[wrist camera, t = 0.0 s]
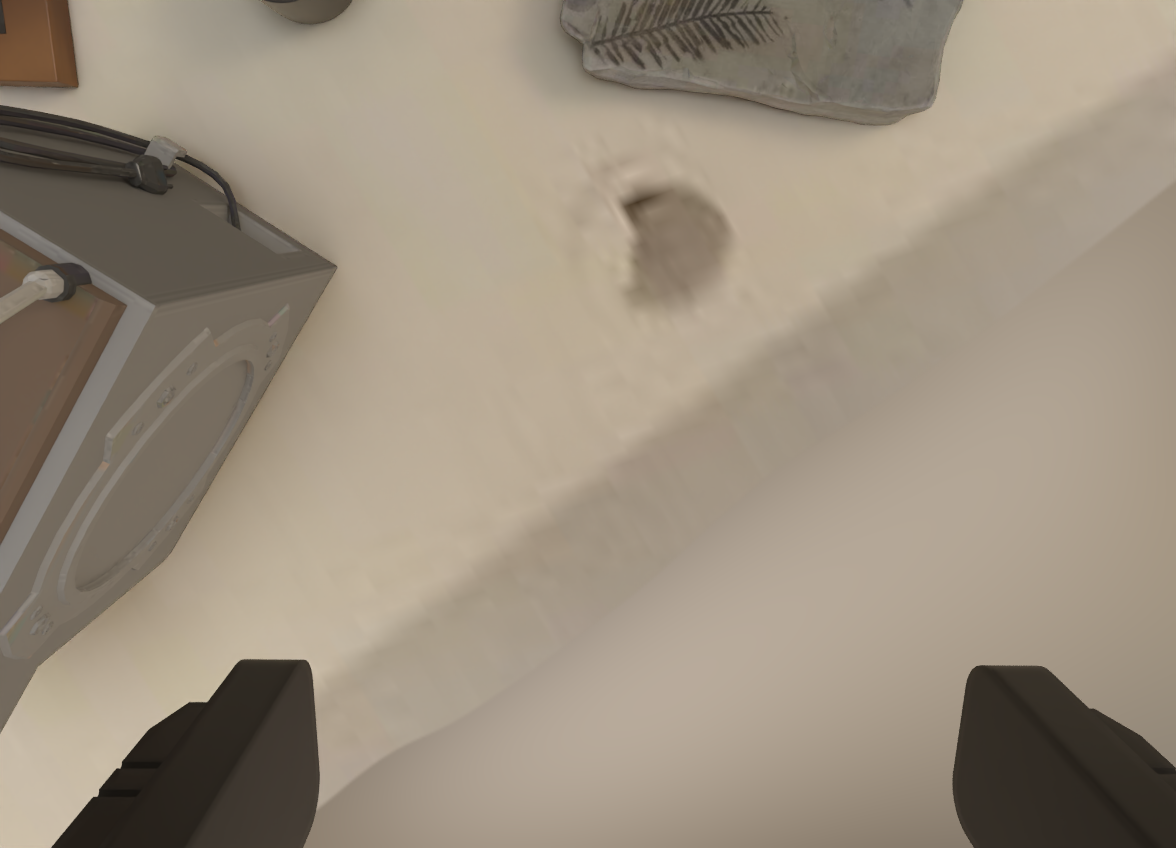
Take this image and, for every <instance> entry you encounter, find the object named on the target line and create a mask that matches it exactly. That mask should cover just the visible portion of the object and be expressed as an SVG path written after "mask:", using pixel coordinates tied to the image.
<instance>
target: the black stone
mask: <svg viewBox="0 0 1176 848" xmlns="http://www.w3.org/2000/svg"><path fill="white" fill-rule="evenodd" d="M259 1H261V2H262V3H264V4H265V5H266V6H268V7H269V8H271V9H272V10H274V11H275V12H277V13H278V14H280V15H281V16H283V17H285V18H287V19H289V20H291V21H294V22H298V23H303V24H317V23H323V22H326V21H329V20H331V19H333V18H335V17H336V16H338V15H339V14H340V13H342V12H343V11H344V10H345V9H346V8H347V7H348V5H349V4H350V3H351V1H352V0H259Z"/></svg>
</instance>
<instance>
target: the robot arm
mask: <svg viewBox="0 0 1176 848" xmlns="http://www.w3.org/2000/svg"><path fill="white" fill-rule="evenodd" d="M319 782H320V772H319V757H318V743H317V730H316V716H315V703H314V689H313V677H312V671H311V668H310V665H309V663H308V662H307V661H306V660H260V659H244V660H241V661H239V662H238V663H237V664H236V665H235V666H234V668H233V669H232V670H231V672H230V673H229V674H228V676H227V677H226V678H225V680H224V681H223V682H222V684H221V685H220V686H219V688H218V689H217V690H216V692H215V693H214V694H213V696H212V697H211V698H210V700H209V701H208V702H189V703H188V704H186V705H185V706H183V707H182V708H180V709H179V710H177V711H176V712H174V713H173V714H171V715H170V716H168V717H167V718H165V719H164V720H162V721H161V722H159V723H158V724H156V725H155V726H153V727H152V728H150V729H149V730H148V731H147V732H146V734H145V735H144V736H143V737H142V738H141V740H140V741H139V742H138V743H137V744H136V746H135V747H134V748H133V749H132V750H131V752H130V753H129V754H128V755H127V757H126V758H125V759H124V760H123V761H122V767H121V769H116V770H115V771H114V772H113V773H112V775H111V776H110V777H109V778H108V780H107V781H106V782H105V783H104V784H103V786H102V787H101V788H100V789H99V795H98V797H93V798H92V799H91V800H90V801H89V803H88V804H87V805H86V806H85V807H84V809H83V810H82V811H81V812H80V813H79V815H78V816H77V817H76V818H75V819H74V821H73V822H72V823H71V824H70V826H69V827H68V828H67V829H66V830H65V832H64V833H63V834H62V835H61V836H60V838H59V839H58V840H57V841H56V842H55V844H54V845H53V846H52V847H51V848H303V846H304V844H305V842H306V839H307V837H308V835H309V832H310V830H311V827H312V824H313V821H314V816H315V813H316V808H317V802H318V794H319ZM953 795H954V803H955V807H956V811H957V815H958V818H959V821H960V824H961V826H962V828H963V830H964V832H965V834H966V836H967V837H968V839H969V840H970V842H971V843H972V845H973V847H974V848H1176V768H1175V767H1174V766H1173V765H1172V764H1171V763H1170V762H1169V761H1168V760H1167V759H1166V758H1164V757H1163V756H1162V755H1161V754H1160V753H1159V752H1158V751H1157V750H1156V749H1155V748H1154V747H1152V746H1151V745H1150V744H1149V743H1148V742H1147V741H1146V740H1145V739H1144V738H1143V737H1142V736H1140V735H1138V734H1137V733H1135V732H1133V731H1132V730H1130V729H1128V728H1127V727H1125V726H1123V725H1121V724H1120V723H1118V722H1116V721H1114V720H1113V719H1111V718H1109V717H1107V716H1106V715H1104V714H1102V713H1101V712H1099V711H1097V710H1095V709H1089V708H1088V707H1087V706H1086V705H1085V704H1084V703H1082V701H1081V700H1080V699H1079V698H1077V697H1076V696H1075V695H1074V694H1073V693H1072V692H1071V691H1070V690H1069V689H1068V688H1067V687H1066V686H1065V685H1064V684H1063V683H1062V682H1061V681H1060V680H1059V679H1058V678H1056V676H1054V675H1053V674H1052V673H1051V672H1050V671H1049V670H1048V669H1046V668H1044V667H1042V666H988V665H987V666H985V665H981V666H976V667H975V668H974V669H972V671H971V672H970V674H969V676H968V679H967V683H966V689H965V695H964V702H963V709H962V716H961V723H960V729H959V737H958V743H957V750H956V757H955V764H954V771H953Z"/></svg>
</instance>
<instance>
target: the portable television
mask: <svg viewBox="0 0 1176 848" xmlns="http://www.w3.org/2000/svg"><path fill="white" fill-rule="evenodd" d="M186 153H187V151H186V150H185V149H184V148H182V147H181V146H179V145H178V144H176V143H175V142H173V141H171V140H170V139H168V138H166V137H160V136H155V137H154V138H153V139H152V140H151V142H149V141H146V140H143V139H140V138H137V137H134V136H131V135H128V134H125V133H122V132H119V131H115V130H112V129H109V128H106V127H103V126H99V125H96V124H92V123H88V122H85V121H81V120H77V119H72V118H67V117H63V116H58V115H53V114H48V113H43V112H38V111H32V110H27V109H21V108H15V107H9V106H3V105H0V733H1V731H2V730H3V728H4V726H5V724H6V722H7V721H8V719H9V717H10V715H11V714H12V712H13V710H14V708H15V706H16V705H17V703H18V701H19V699H20V698H21V696H22V694H23V692H24V690H25V689H26V687H27V685H28V683H29V682H30V680H31V678H32V676H33V674H34V673H35V671H36V669H37V667H38V666H39V665H40V664H42V663H43V662H44V661H45V660H46V659H48V658H49V657H50V656H51V655H52V654H53V653H55V652H56V651H57V650H58V649H59V648H61V647H62V646H63V645H64V644H65V643H67V642H68V641H69V640H70V639H71V638H73V637H74V636H75V635H76V634H77V633H79V632H80V631H81V630H82V629H83V628H84V627H86V626H87V625H88V624H89V623H90V622H92V621H93V620H94V619H95V618H96V617H98V616H99V615H100V614H101V613H102V612H104V611H105V610H106V609H107V608H108V607H110V606H111V605H112V604H113V603H114V602H115V601H117V600H118V599H119V598H120V597H121V596H123V595H124V594H125V593H126V592H127V591H129V590H130V589H131V588H132V587H133V586H135V585H136V584H137V583H138V582H139V581H140V580H142V579H143V578H144V577H145V576H146V575H148V574H149V573H150V572H151V571H152V570H154V569H155V568H156V567H157V566H158V565H160V564H161V563H162V562H163V561H164V560H165V559H166V558H167V557H168V555H169V554H170V553H171V551H172V550H173V548H174V546H175V544H176V543H177V541H178V539H179V538H180V536H181V534H182V532H183V531H184V529H185V527H186V526H187V524H188V522H189V520H190V519H191V517H192V515H193V514H194V512H195V510H196V508H197V507H198V505H199V503H200V502H201V500H202V498H203V496H204V495H205V493H206V491H207V490H208V488H209V486H210V484H211V483H212V481H213V479H214V478H215V476H216V474H217V472H218V471H219V469H220V467H221V466H222V464H223V462H224V460H225V459H226V457H227V455H228V454H229V452H230V450H231V448H232V447H233V445H234V443H235V442H236V440H237V438H238V436H239V435H240V433H241V431H242V430H243V428H244V426H245V424H246V423H247V421H248V419H249V418H250V416H251V414H252V412H253V411H254V409H255V407H256V406H257V404H258V402H259V400H260V399H261V397H262V395H263V394H264V392H265V390H266V388H267V387H268V385H269V383H270V382H271V380H272V378H273V376H274V375H275V373H276V371H277V370H278V368H279V366H280V364H281V363H282V361H283V359H284V358H285V356H286V354H287V352H288V351H289V349H290V347H291V346H292V344H293V342H294V340H295V339H296V337H297V335H298V334H299V332H300V330H301V328H302V327H303V325H304V323H305V321H306V320H307V318H308V316H309V315H310V313H311V311H312V309H313V308H314V306H315V304H316V303H317V301H318V299H319V297H320V296H321V294H322V292H323V291H324V289H325V287H326V285H327V284H328V282H329V280H330V279H331V277H332V275H333V273H334V272H335V270H336V268H337V266H335V265H333V264H332V263H330V262H329V261H327V260H326V259H324V258H322V257H321V256H319V255H318V254H316V253H315V252H313V251H312V250H310V249H308V248H307V247H305V246H304V245H302V244H301V243H299V242H297V241H296V240H294V239H293V238H291V237H290V236H288V235H287V234H285V233H283V232H282V231H280V230H279V229H277V228H276V227H274V226H272V225H271V224H269V223H268V222H266V221H265V220H263V219H262V218H260V217H258V216H257V215H255V214H254V213H252V212H251V211H249V210H247V209H246V208H244V207H243V206H241V205H240V204H238V203H236V200H235V198H234V195H233V193H232V191H231V189H230V186H229V185H228V183H227V182H226V181H225V180H224V179H223V178H222V177H221V176H220V175H219V174H218V173H217V172H216V171H214V170H213V169H211V168H210V167H208V166H207V165H205V164H204V163H202V162H200V161H198V160H196V159H194V158H192V157H190V156H188V155H186ZM175 159H178V160H180V161H183V162H185V163H188V164H190V165H192V166H194V167H196V168H198V169H200V170H201V171H203V172H205V173H206V174H208V175H209V176H211V177H212V178H213V179H214V180H215V181H216V182H217V183H218V184H219V185H220V186H221V187H222V188H223V190H224V192H225V195H224V194H222V193H221V192H219V191H218V190H216V189H215V188H213V187H211V186H210V185H208V184H207V183H205V182H204V181H202V180H201V179H199V178H197V177H196V176H194V175H193V174H191V173H190V172H188V171H186V170H185V169H183V168H182V167H180V166H179V165H177V164H176V163H174V161H175Z"/></svg>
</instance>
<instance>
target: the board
mask: <svg viewBox="0 0 1176 848" xmlns="http://www.w3.org/2000/svg"><path fill="white" fill-rule="evenodd" d="M0 86H29V87H78V82H77V74H76V66H75V58H74V50H73V43H72V35H71V27H70V19H69V11H68V3H67V0H0Z"/></svg>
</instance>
